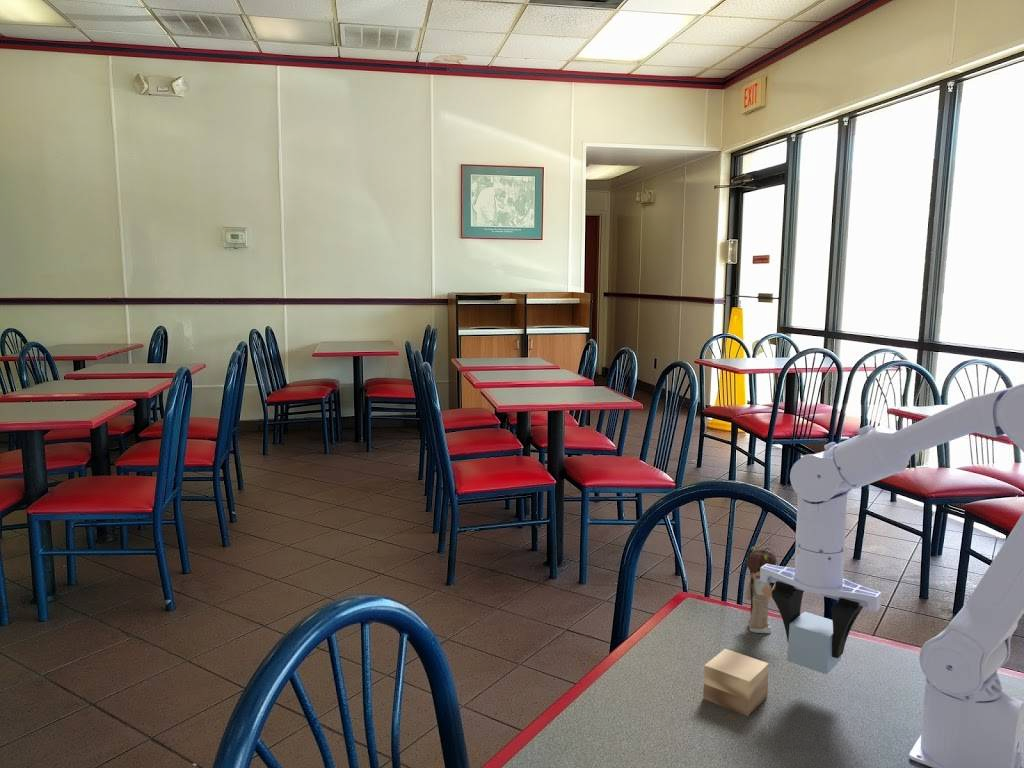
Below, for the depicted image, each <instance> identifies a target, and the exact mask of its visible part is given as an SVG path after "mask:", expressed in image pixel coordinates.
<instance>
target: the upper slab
mask: <svg viewBox="0 0 1024 768" xmlns="http://www.w3.org/2000/svg"><path fill="white" fill-rule="evenodd" d="M769 667H770V663H769V662H767V661H762V660H760V659H757V658H754V657H752V656H748V655H745V654H742V653H739V652H736V651H733V650H731V649H727V648H724V649H723V650H722V651H720V652H719V653H718V654H717V655H715V656H714V657H713V658H711V659H710V660H709V661H708V662H707V663H705V664H704V668H703V671H704V672H703V685H704V684H706V685H709V686H711V687H714V688H717V689H719V690H722V691H724V692H727V693H730V694H732V695H735V696H738V697H740V698H743V699H746V700H748V701H749V700H750V699H751V698H752V697H753V696H754V695H755V694H756V693H757V692H758V691H759V690H760V689H761V688H762V687H763V686H764V685H765V684H766V683H767V682H768V683H769Z"/></svg>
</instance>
